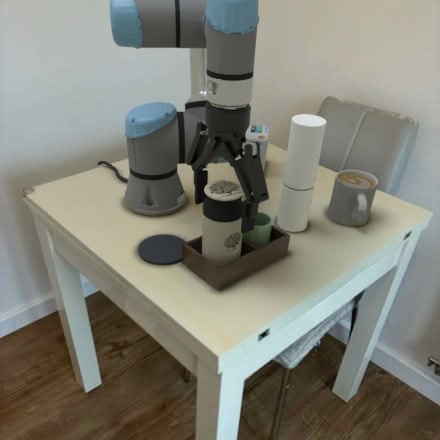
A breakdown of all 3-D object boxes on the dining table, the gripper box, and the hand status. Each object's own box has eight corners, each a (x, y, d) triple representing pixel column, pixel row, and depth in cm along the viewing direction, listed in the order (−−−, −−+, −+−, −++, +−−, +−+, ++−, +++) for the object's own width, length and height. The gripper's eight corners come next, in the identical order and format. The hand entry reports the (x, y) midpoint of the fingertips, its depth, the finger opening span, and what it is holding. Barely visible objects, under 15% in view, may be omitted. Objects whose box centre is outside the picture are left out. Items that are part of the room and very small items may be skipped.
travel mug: (196, 259, 98) (196, 182, 86) (230, 252, 100) (235, 176, 88) (209, 281, 92) (212, 202, 80) (245, 273, 95) (252, 195, 83)
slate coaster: (128, 247, 100) (128, 245, 100) (169, 231, 106) (169, 228, 105) (157, 271, 94) (157, 269, 93) (198, 252, 100) (198, 250, 99)
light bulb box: (243, 159, 137) (246, 123, 130) (266, 161, 137) (269, 125, 130) (240, 175, 129) (242, 137, 122) (263, 177, 129) (267, 140, 122)
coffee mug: (327, 203, 118) (334, 167, 112) (365, 207, 118) (375, 171, 111) (328, 230, 108) (337, 193, 102) (371, 235, 107) (382, 197, 101)
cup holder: (182, 263, 96) (181, 243, 93) (251, 231, 107) (253, 213, 104) (217, 291, 90) (218, 271, 87) (287, 254, 100) (290, 235, 97)
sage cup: (233, 248, 101) (235, 217, 96) (254, 238, 105) (257, 208, 99) (253, 262, 98) (256, 230, 92) (274, 251, 101) (278, 220, 96)
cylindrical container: (309, 219, 112) (328, 117, 96) (303, 234, 107) (323, 128, 91) (281, 214, 114) (295, 112, 97) (274, 228, 108) (288, 123, 92)
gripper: (165, 87, 79) (169, 196, 93) (266, 130, 65) (254, 251, 79) (198, 80, 83) (198, 186, 97) (301, 119, 69) (283, 237, 83)
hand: (223, 216), depth 88 cm, fingers open, 13 cm apart
